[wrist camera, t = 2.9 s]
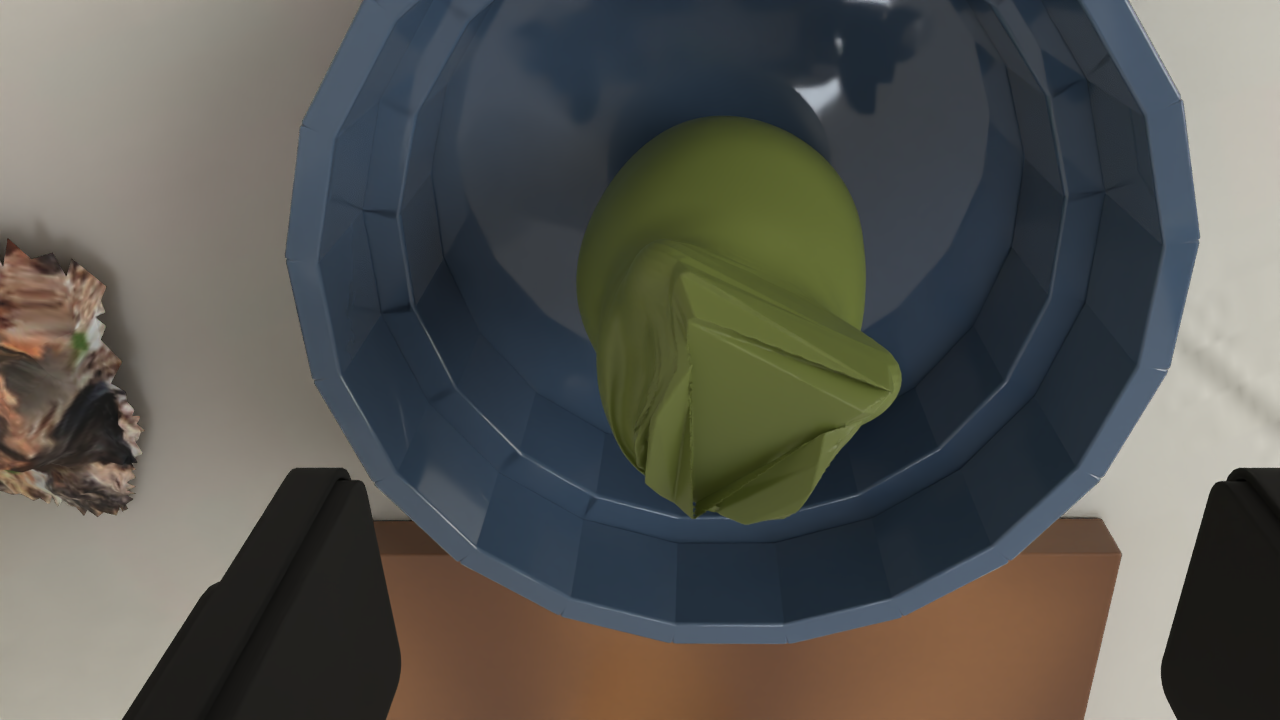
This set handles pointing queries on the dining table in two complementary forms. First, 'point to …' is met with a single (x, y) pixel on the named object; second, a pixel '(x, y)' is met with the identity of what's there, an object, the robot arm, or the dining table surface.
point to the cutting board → (756, 649)
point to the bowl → (894, 300)
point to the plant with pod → (61, 390)
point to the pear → (731, 317)
